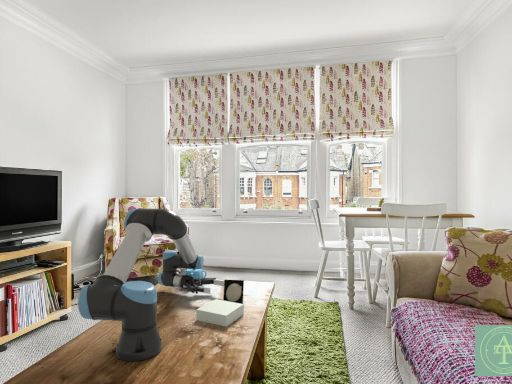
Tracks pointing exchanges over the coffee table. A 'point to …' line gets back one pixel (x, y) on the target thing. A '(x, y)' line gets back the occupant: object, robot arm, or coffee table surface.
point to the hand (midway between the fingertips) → (217, 287)
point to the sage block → (220, 312)
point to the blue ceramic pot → (195, 273)
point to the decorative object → (233, 291)
